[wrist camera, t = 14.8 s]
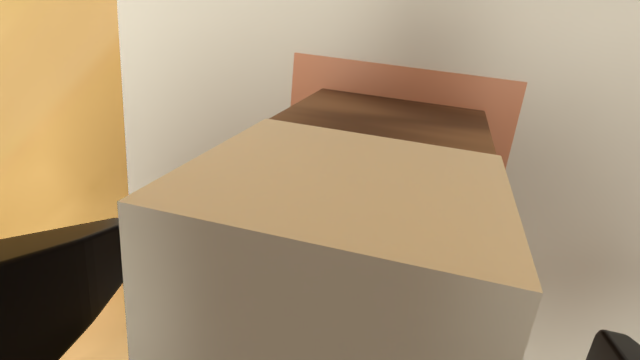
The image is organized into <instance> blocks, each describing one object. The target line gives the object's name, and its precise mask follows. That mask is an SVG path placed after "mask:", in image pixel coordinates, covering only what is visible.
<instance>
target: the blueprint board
mask: <svg viewBox="0 0 640 360" xmlns="http://www.w3.org/2000/svg"><path fill="white" fill-rule="evenodd" d="M117 9H118V25H119V42H120V59H121V75H122V92H123V109H124V125H125V142H126V159H127V175H128V192H129V194H131V193H133V192H135V191H137V190H138V189H140V188H142V187H144V186H146V185H147V184H149V183H151V182H153V181H155V180H156V179H158V178H160V177H162V176H164V175H165V174H167V173H169V172H171V171H173V170H174V169H176V168H178V167H180V166H181V165H183V164H185V163H187V162H189V161H190V160H192V159H194V158H196V157H198V156H199V155H201V154H203V153H205V152H207V151H208V150H210V149H212V148H214V147H216V146H217V145H219V144H221V143H223V142H225V141H226V140H228V139H230V138H232V137H233V136H235V135H237V134H239V133H241V132H242V131H244V130H246V129H248V128H250V127H251V126H253V125H255V124H257V123H259V122H260V121H262V120H264V119H269V118H271V117H273V116H275V115H276V114H278V113H280V112H282V111H283V110H285V109H287V108H289V107H290V106H292V105H294V104H296V103H298V102H299V101H301V100H303V99H305V98H306V97H308V96H310V95H312V94H313V93H315V92H317V91H319V90H320V89H322V88H324V89H331V90H338V91H345V92H352V93H360V94H367V95H374V96H381V97H388V98H396V99H403V100H410V101H417V102H424V103H431V104H439V105H446V106H453V107H460V108H467V109H475V110H482V111H485V114H486V118H487V122H488V125H489V129H490V133H491V136H492V140H493V144H494V147H495V151H496V154H497V155H500V156H501V157H502V160H503V163H504V167H505V170H506V173H507V176H508V180H509V183H510V186H511V190H512V193H513V196H514V199H515V203H516V206H517V209H518V212H519V216H520V219H521V222H522V226H523V229H524V232H525V235H526V239H527V242H528V245H529V249H530V252H531V255H532V258H533V262H534V265H535V268H536V272H537V275H538V278H539V281H540V285H541V288H542V291H543V295H542V298H541V301H540V305H539V308H538V311H537V314H536V318H535V321H534V324H533V327H532V331H531V334H530V337H529V340H528V343H527V347H526V350H525V353H524V356H523V360H586V358H587V355H588V352H589V350H590V347H591V344H592V342H593V339H594V337H595V335H596V333H597V332H598V331H599V330H602V329H604V330H609V331H613V332H618V333H622V334H625V335H628V336H629V337H631V338H632V339H633V340H634V341H636V342H637V343H638V344H640V0H117Z"/></svg>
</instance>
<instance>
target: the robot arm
mask: <svg viewBox="0 0 640 360" xmlns="http://www.w3.org/2000/svg"><path fill="white" fill-rule="evenodd" d="M122 283H123V273H122V259H121V246H120V232H119V219H118V218H111V219H106V220H101V221H95V222H90V223H85V224H80V225H74V226H69V227H64V228H58V229H53V230H48V231H42V232H37V233H32V234H27V235H21V236H16V237H11V238H5V239H0V360H59V359H60V358H61V357H62V356H63V355H64V354H65V353H66V351H67V350H68V349H69V348H70V347H71V346H72V345H73V344H74V343H75V342H76V341H77V339H78V338H79V337H80V336H81V335H82V334H83V333H84V332H85V331H86V329H87V328H88V327H89V326H90V325H91V324H92V323H93V321H94V320H95V319H96V317H97V316H98V315H99V314H100V312H101V311H102V310H103V308H104V307H105V306H106V304H107V303H108V302H109V300H110V299H111V298H112V296H113V295H114V294H115V292H116V291H117V290H118V288H119V287H120V286H121V284H122ZM586 360H640V344H638V343H637V342H636V341H634V340H633V339H632V338H631V337H629V336H628V335H625V334H622V333H618V332H613V331H609V330H604V329H602V330H599V331H598V332H597V333H596V335H595V337H594V339H593V342H592V344H591V347H590V350H589V352H588V355H587V358H586Z"/></svg>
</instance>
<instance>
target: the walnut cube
mask: <svg viewBox="0 0 640 360" xmlns="http://www.w3.org/2000/svg"><path fill="white" fill-rule="evenodd" d="M269 119H273V120H279V121H285V122H292V123H298V124H304V125H311V126H317V127H323V128H330V129H336V130H342V131H349V132H355V133H361V134H367V135H374V136H380V137H386V138H393V139H399V140H405V141H412V142H418V143H424V144H431V145H437V146H443V147H450V148H456V149H462V150H469V151H475V152H481V153H488V154H494V155H497V154H496V151H495V147H494V144H493V140H492V136H491V133H490V129H489V125H488V122H487V118H486V114H485V111H482V110H475V109H467V108H460V107H453V106H446V105H439V104H431V103H424V102H417V101H410V100H403V99H396V98H388V97H381V96H374V95H367V94H360V93H352V92H345V91H338V90H331V89H324V88H322V89H320V90H319V91H317V92H315V93H313V94H312V95H310V96H308V97H306V98H305V99H303V100H301V101H299V102H298V103H296V104H294V105H292V106H290V107H289V108H287V109H285V110H283V111H282V112H280V113H278V114H276V115H275V116H273V117H271V118H269Z"/></svg>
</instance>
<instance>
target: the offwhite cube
mask: <svg viewBox="0 0 640 360" xmlns="http://www.w3.org/2000/svg"><path fill="white" fill-rule="evenodd" d="M117 205H118V219H119V232H120V246H121V259H122V273H123V286H124V300H125V313H126V327H127V340H128V353H129V360H523V356H524V353H525V350H526V347H527V343H528V340H529V337H530V334H531V331H532V327H533V324H534V321H535V318H536V314H537V311H538V308H539V305H540V301H541V298H542V295H543V291H542V288H541V285H540V281H539V278H538V275H537V272H536V268H535V265H534V262H533V258H532V255H531V252H530V249H529V245H528V242H527V239H526V235H525V232H524V229H523V226H522V222H521V219H520V216H519V212H518V209H517V206H516V203H515V199H514V196H513V193H512V190H511V186H510V183H509V180H508V176H507V173H506V170H505V167H504V163H503V160H502V157H501V156H500V155H494V154H488V153H481V152H475V151H469V150H462V149H456V148H450V147H443V146H437V145H431V144H424V143H418V142H412V141H405V140H399V139H393V138H386V137H380V136H374V135H367V134H361V133H355V132H349V131H342V130H336V129H330V128H323V127H317V126H311V125H304V124H298V123H292V122H285V121H279V120H273V119H264V120H262V121H260V122H259V123H257V124H255V125H253V126H251V127H250V128H248V129H246V130H244V131H242V132H241V133H239V134H237V135H235V136H233V137H232V138H230V139H228V140H226V141H225V142H223V143H221V144H219V145H217V146H216V147H214V148H212V149H210V150H208V151H207V152H205V153H203V154H201V155H199V156H198V157H196V158H194V159H192V160H190V161H189V162H187V163H185V164H183V165H181V166H180V167H178V168H176V169H174V170H173V171H171V172H169V173H167V174H165V175H164V176H162V177H160V178H158V179H156V180H155V181H153V182H151V183H149V184H147V185H146V186H144V187H142V188H140V189H138V190H137V191H135V192H133V193H131V194H129V195H128V196H126V197H124V198H122V199H120V200H119V201H117Z"/></svg>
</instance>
